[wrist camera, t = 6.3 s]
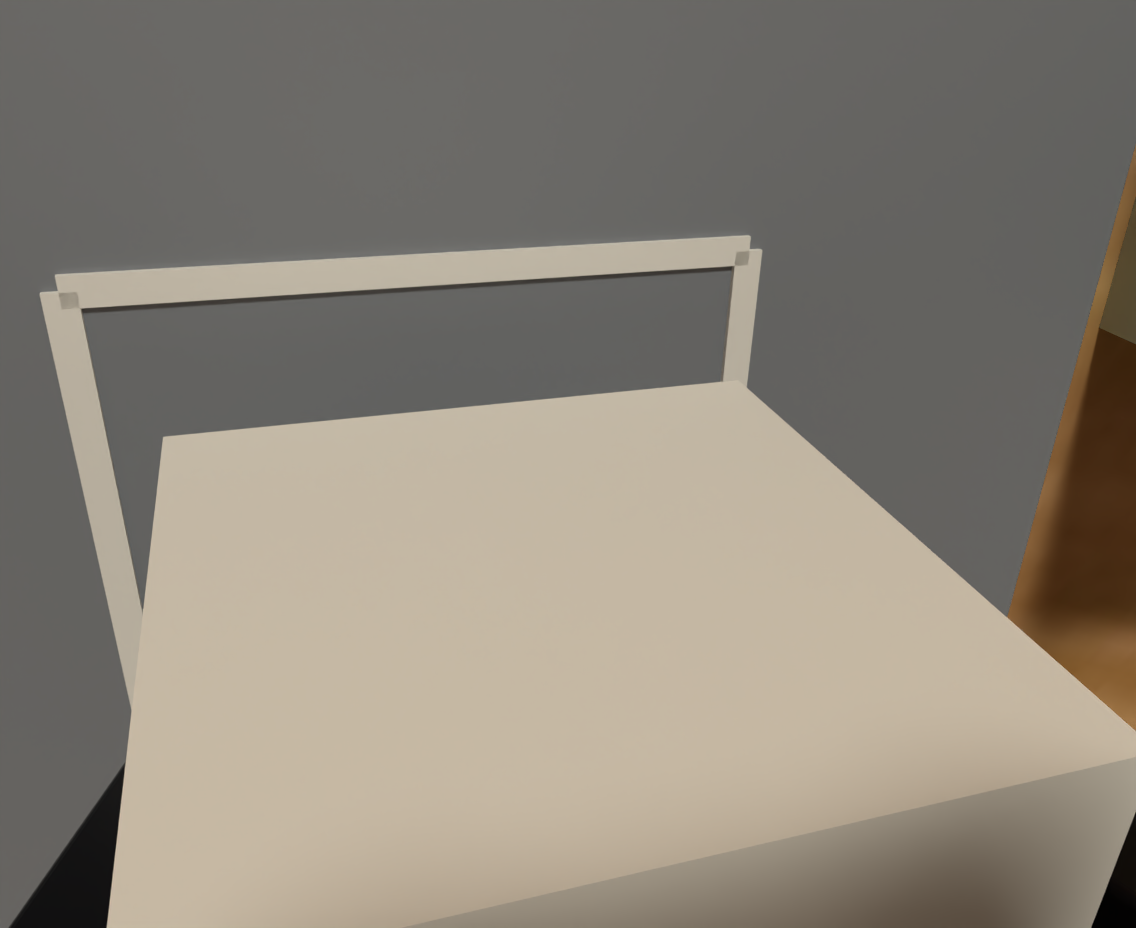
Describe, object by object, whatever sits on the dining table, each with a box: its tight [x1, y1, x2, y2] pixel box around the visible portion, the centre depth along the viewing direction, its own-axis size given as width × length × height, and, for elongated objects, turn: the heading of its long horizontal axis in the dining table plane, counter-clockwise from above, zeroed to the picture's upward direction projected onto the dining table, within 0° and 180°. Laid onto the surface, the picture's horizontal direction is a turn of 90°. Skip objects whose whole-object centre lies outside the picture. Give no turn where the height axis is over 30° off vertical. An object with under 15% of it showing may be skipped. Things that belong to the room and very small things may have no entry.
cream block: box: [107, 380, 1136, 928], centre depth 8 cm, size 5×5×5 cm
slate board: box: [0, 0, 1136, 928], centre depth 12 cm, size 16×16×1 cm
